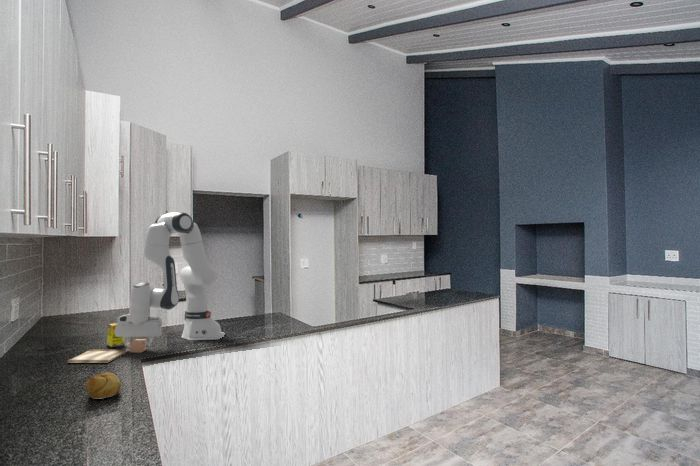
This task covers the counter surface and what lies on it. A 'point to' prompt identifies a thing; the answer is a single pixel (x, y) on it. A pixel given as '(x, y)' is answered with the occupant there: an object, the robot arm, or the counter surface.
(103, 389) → the bread roll
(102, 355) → the board
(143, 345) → the cube
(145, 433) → the counter surface
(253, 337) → the counter surface
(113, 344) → the supplement box
